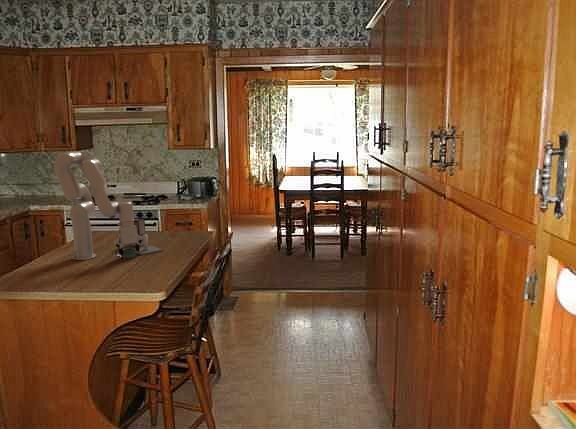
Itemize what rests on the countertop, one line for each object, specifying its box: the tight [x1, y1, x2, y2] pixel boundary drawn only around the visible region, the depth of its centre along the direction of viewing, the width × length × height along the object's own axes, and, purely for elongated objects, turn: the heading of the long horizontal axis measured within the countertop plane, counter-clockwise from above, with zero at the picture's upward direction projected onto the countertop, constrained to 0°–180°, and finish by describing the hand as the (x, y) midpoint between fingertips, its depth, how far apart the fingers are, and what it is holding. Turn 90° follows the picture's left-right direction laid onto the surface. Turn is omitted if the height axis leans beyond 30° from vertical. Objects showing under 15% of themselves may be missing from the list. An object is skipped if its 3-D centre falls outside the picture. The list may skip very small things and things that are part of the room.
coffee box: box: [128, 218, 146, 247], centre depth 309 cm, size 9×6×16 cm
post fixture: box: [135, 234, 164, 256], centre depth 292 cm, size 14×14×10 cm
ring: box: [122, 247, 137, 259], centre depth 280 cm, size 7×7×4 cm
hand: (129, 253), depth 280 cm, fingers open, 9 cm apart
